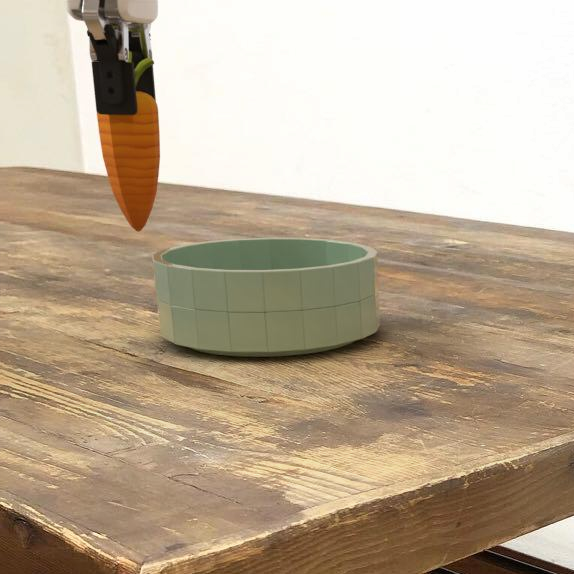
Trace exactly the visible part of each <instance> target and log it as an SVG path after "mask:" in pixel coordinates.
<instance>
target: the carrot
mask: <svg viewBox="0 0 574 574" xmlns="http://www.w3.org/2000/svg"><path fill="white" fill-rule="evenodd" d="M128 62H132V52H130V51H129V60H128ZM151 65H153V66H154V65H155V61H154V60H153V58H152V59H151V58H146V59H144V60H142V61H141V62H139V64H138V65H137V67H136V68H135V69H134V73H135V84H136V85H137V82H138V79H139V78H140V76H141V75H142V73H143V72H144V71H145V70H146V68H148V67H150V66H151ZM136 96H137V107H138V112H137V114H135V115H105V114H99V113H98V112H97V110H96V109H95V110H96V111H95V112H96V119H97V127H98V134H99V140H100V141H99V142H100V148H101V154H102V160H103V163H104V167H105V170H106V175H107V178H108V181H109V184H110V189H111V191H112V195H113V196H114V199H115V201H116V203H117V205H118V207H119V209H120V211H121V213H122V215H123V216H124V218H125V219H126V221H127V223H128V224H129V226H130V227H131V228H132V229H133V230H134V231H136V232H142V231H143V229H144V228H145V226H146V224H147V222H148V220H149V217H150V215H151V213H152V211H153V207H154V203H155V200H156V197H157V193H158V192H157V191H158V185H159V175H160V161H161V142H160V141H161V136H160V117H159V107H158V104H157V99H156V100H155V99H154V98H153V97H152V96H150V95H149V94H147V93H144V92H140V91H136Z"/></svg>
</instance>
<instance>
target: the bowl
mask: <svg viewBox="0 0 574 574" xmlns="http://www.w3.org/2000/svg"><path fill="white" fill-rule="evenodd" d="M151 261H152V270H153V280H154V281H153V282H154V289H155V290H154V291H155V299H156V300H155V301H156V309H157V316H158V317H157V318H158V327H159V328H158V329H159V332H160V337H161V338H162V339H164V340H166V341H168V342H170V343H172V344H175V345H177V346H181V347H187V348H189V349H192V350H194V351H198V352H201V353H205V354H211V355H217V356H218V355H219V356H227V357H240V358H241V357H242V358H243V357H244V358H246V357H247V358H268V357H269V358H271V357H289V356H300V355H309V354H315V353H320V352H321V353H322V352H327V351H332V350H336V349H339V348H342V347H346V346H348V345H350V344H352V343H354V342H356V341H359V340H363V339H365V338H367V337H369V336H371V335H373V334H375V333H377V331H378V329H379V327H380V325H381V315H380V313H381V312H380V310H381V309H380V289H379V286H380V285H379V263H378V262H379V259H378V251H377V250H376V249H374V248H373V247H371V246H369V245H364V244H362V243H358V242H353V241H352V242H351V241H346V240H345V241H344V240H336V239H329V238H309V237H308V238H307V237H255V238H254V237H251V238H231V239H217V240H210V241H209V240H208V241H200V242H194V243H185V244H181V245H175V246H173V247H168V248H163V249H161V250H159V251H157V252H155V253H154V254H152V255H151Z"/></svg>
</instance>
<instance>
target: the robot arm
mask: <svg viewBox="0 0 574 574" xmlns="http://www.w3.org/2000/svg"><path fill="white" fill-rule="evenodd" d="M64 3H65V9H66V11H67V13H68V15H69V16H71V18H73V19H74V20H75V21H80V22H84V24H85V26H86V29H87V30H86V35H87V37H88V40H89V41H88V42H89V45H88V46H89V57H90V60H91V70H92V81H93V90H94V102H95V110H97V112H98V113H99V114H105V115H135V114H137V112H138V107H137V96H136V91H140V92H144V93H147V94H149V95H150V96H152V97H153V98H154V99H155V100H156V101H157V99H156V98H157V97H156V88H155V87H156V85H155V75H154V64H153V65H151V66H150V67H148V68H146V70H145V71H144V72H143V73H142V75H141V76H140V78H139V79H138V82H137V85H136V84H135V73H134V69H135V68H136V67H137V65H138V64H139V62H141V61H142V60H144V59H146V58H151V59H152V60H153V50H152V42H151V41H152V40H151V38H150V37H152V36H151V33H150V32H151V27H152V23H154V22H155V20H156V19H157V18H158V15H159V9H158V8H159V0H64ZM129 51H130V52H132V62H128V60H129ZM97 112H96V113H97Z"/></svg>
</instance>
